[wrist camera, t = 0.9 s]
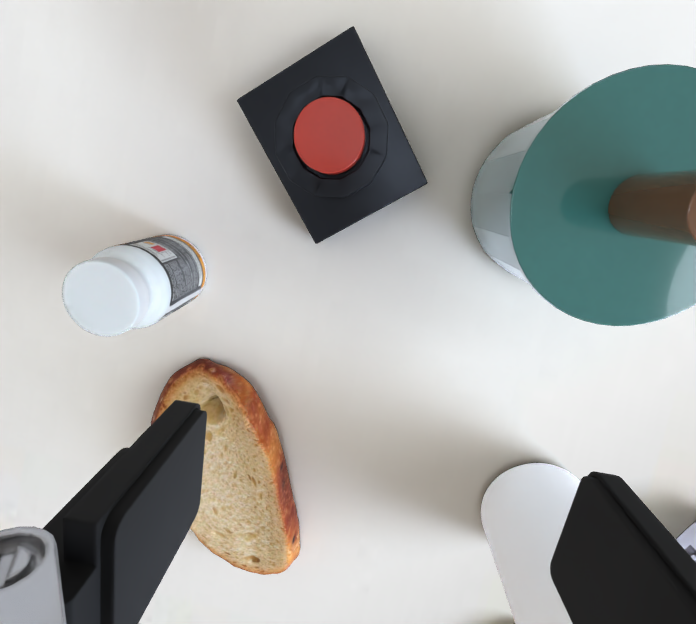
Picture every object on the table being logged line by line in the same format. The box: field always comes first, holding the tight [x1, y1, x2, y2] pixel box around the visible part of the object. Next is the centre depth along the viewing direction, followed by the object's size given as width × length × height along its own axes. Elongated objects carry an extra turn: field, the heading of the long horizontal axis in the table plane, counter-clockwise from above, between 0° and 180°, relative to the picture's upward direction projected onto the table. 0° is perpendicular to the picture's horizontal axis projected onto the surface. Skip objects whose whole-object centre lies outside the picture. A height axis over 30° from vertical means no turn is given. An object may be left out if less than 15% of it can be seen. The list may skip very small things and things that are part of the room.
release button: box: [294, 97, 365, 175], centre depth 27 cm, size 4×4×2 cm
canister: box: [471, 112, 554, 284], centre depth 26 cm, size 11×11×10 cm
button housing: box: [237, 26, 427, 244], centre depth 29 cm, size 11×9×4 cm
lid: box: [507, 64, 696, 326], centre depth 19 cm, size 12×12×7 cm
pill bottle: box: [62, 235, 207, 336], centre depth 30 cm, size 6×6×10 cm
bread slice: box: [151, 359, 300, 575], centre depth 37 cm, size 18×18×4 cm
